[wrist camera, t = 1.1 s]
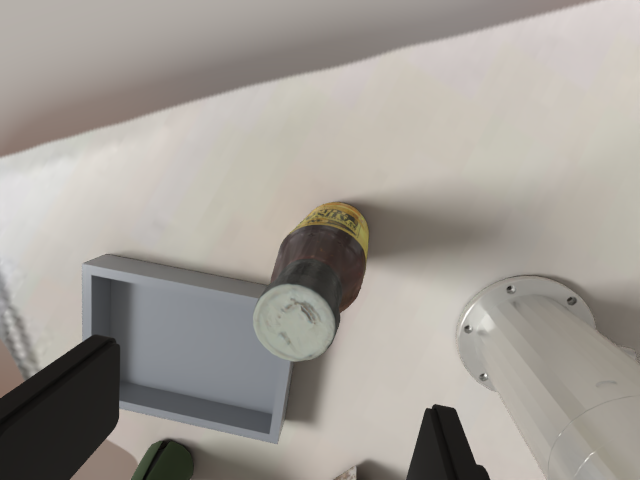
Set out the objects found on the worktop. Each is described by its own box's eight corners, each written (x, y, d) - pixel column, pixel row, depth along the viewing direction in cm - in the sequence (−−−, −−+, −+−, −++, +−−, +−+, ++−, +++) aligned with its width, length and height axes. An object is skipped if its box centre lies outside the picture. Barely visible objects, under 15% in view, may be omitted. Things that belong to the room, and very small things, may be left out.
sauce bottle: (364, 195, 35) (366, 248, 15) (372, 257, 36) (383, 378, 17) (297, 204, 35) (221, 266, 16) (307, 265, 37) (248, 387, 18)
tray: (304, 292, 38) (299, 306, 34) (284, 420, 42) (277, 444, 38) (106, 254, 39) (81, 263, 36) (104, 380, 43) (83, 400, 40)
